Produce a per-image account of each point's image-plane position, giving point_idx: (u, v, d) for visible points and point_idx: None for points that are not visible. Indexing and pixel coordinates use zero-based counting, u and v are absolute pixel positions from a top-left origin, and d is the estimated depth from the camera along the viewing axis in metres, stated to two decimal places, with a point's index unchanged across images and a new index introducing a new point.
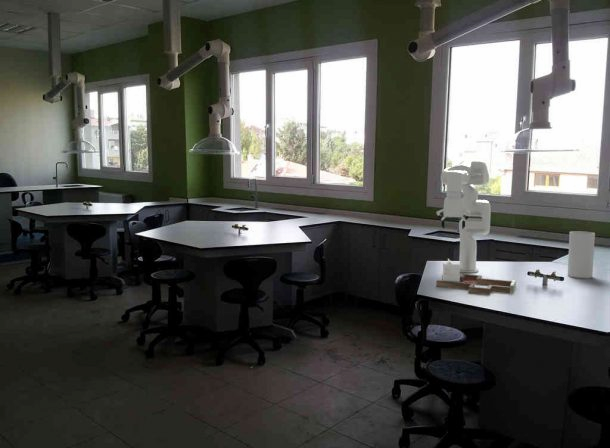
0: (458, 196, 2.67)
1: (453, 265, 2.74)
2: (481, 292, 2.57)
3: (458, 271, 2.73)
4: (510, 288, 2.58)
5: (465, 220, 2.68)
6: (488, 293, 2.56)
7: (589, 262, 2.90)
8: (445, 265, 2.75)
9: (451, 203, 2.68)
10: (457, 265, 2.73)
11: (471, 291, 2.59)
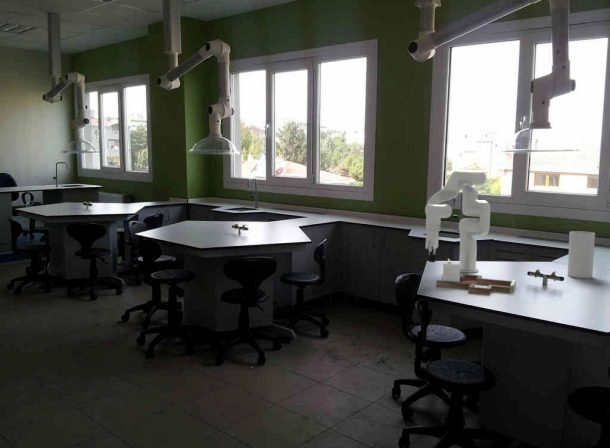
0: None
1: (453, 265, 2.74)
2: (481, 292, 2.57)
3: (458, 271, 2.73)
4: (510, 288, 2.58)
5: None
6: (488, 293, 2.56)
7: (589, 262, 2.90)
8: (445, 265, 2.75)
9: (436, 236, 2.78)
10: (457, 265, 2.73)
11: (471, 291, 2.59)
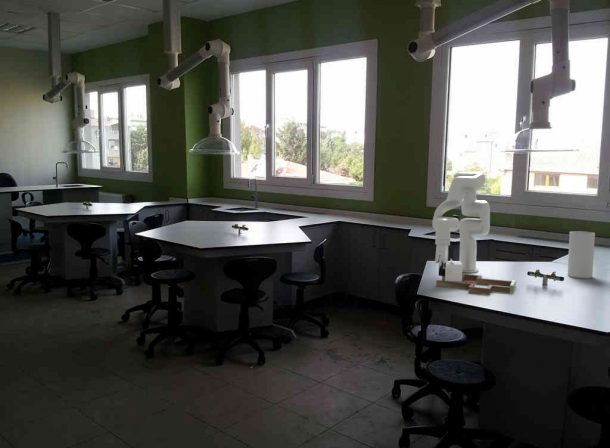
0: None
1: (455, 265, 2.73)
2: (481, 292, 2.57)
3: (460, 271, 2.73)
4: (510, 288, 2.58)
5: None
6: (488, 293, 2.56)
7: (589, 262, 2.90)
8: (447, 265, 2.74)
9: (446, 250, 2.77)
10: (459, 265, 2.73)
11: (471, 291, 2.59)
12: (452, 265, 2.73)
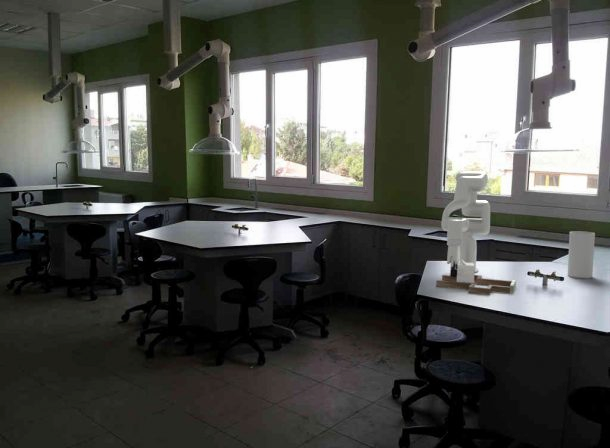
0: None
1: (467, 266, 2.71)
2: (481, 292, 2.57)
3: (472, 272, 2.70)
4: (510, 288, 2.58)
5: (456, 268, 2.78)
6: (488, 293, 2.56)
7: (589, 262, 2.90)
8: (459, 266, 2.71)
9: (458, 251, 2.74)
10: (471, 266, 2.70)
11: (471, 291, 2.59)
12: (464, 266, 2.71)
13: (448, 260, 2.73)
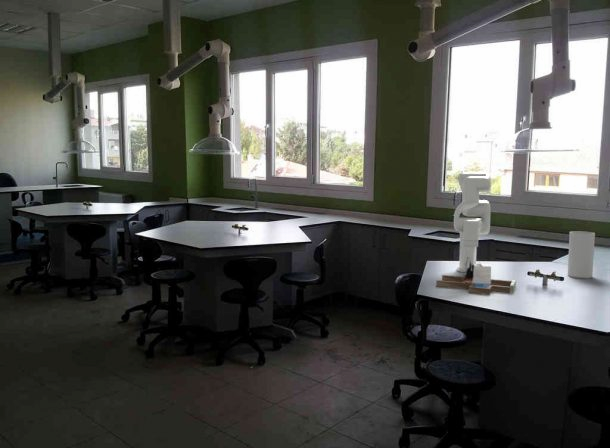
0: None
1: (484, 267, 2.67)
2: (481, 292, 2.57)
3: (489, 273, 2.67)
4: (510, 288, 2.58)
5: (472, 270, 2.74)
6: (488, 293, 2.56)
7: (589, 262, 2.90)
8: (476, 267, 2.68)
9: (474, 252, 2.70)
10: (488, 267, 2.67)
11: (471, 291, 2.59)
12: (481, 267, 2.68)
13: (464, 261, 2.70)
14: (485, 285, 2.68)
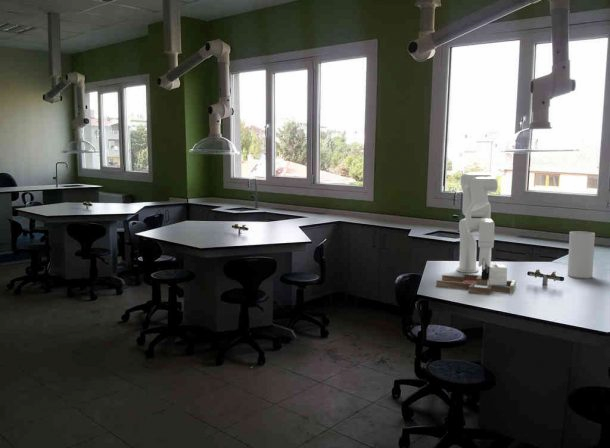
0: None
1: (500, 268, 2.65)
2: (481, 292, 2.57)
3: (505, 274, 2.64)
4: (510, 288, 2.58)
5: None
6: (488, 293, 2.56)
7: (589, 262, 2.90)
8: (491, 268, 2.65)
9: (490, 253, 2.67)
10: (504, 268, 2.64)
11: (471, 291, 2.59)
12: (496, 268, 2.65)
13: (480, 262, 2.66)
14: None
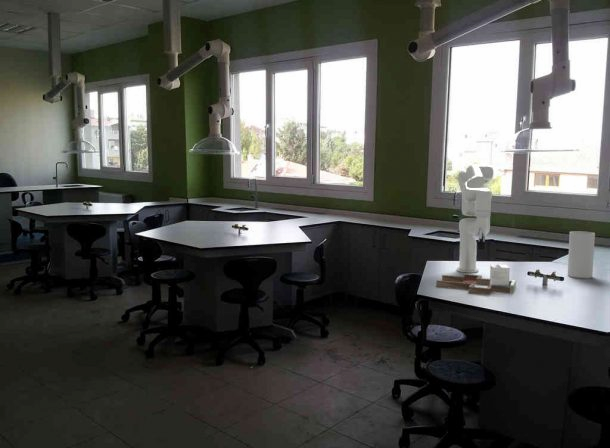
0: None
1: (502, 268, 2.64)
2: (481, 292, 2.57)
3: (508, 275, 2.64)
4: (510, 288, 2.58)
5: (484, 241, 2.71)
6: (488, 293, 2.56)
7: (589, 262, 2.90)
8: (494, 268, 2.65)
9: (487, 222, 2.67)
10: (507, 268, 2.64)
11: (471, 291, 2.59)
12: (499, 268, 2.65)
13: (476, 232, 2.66)
14: None
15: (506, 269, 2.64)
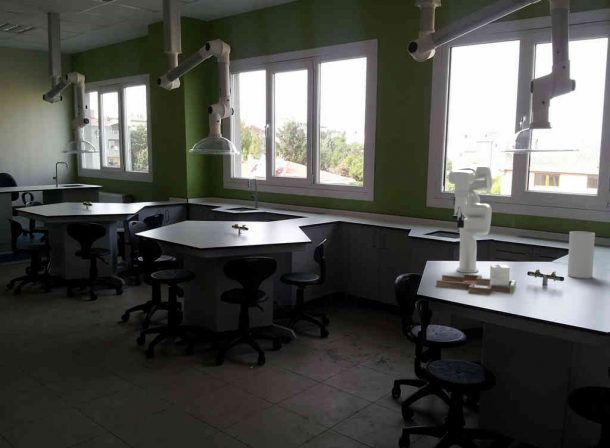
0: None
1: (502, 268, 2.64)
2: (481, 292, 2.57)
3: (508, 275, 2.64)
4: (510, 288, 2.58)
5: (463, 220, 2.87)
6: (488, 293, 2.56)
7: (589, 262, 2.90)
8: (494, 268, 2.65)
9: (465, 202, 2.83)
10: (507, 268, 2.64)
11: (471, 291, 2.59)
12: (499, 268, 2.65)
13: (455, 211, 2.82)
14: None
15: (506, 269, 2.64)
